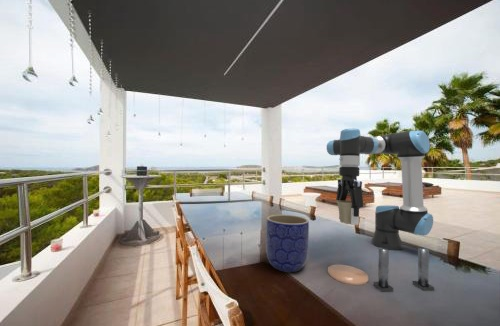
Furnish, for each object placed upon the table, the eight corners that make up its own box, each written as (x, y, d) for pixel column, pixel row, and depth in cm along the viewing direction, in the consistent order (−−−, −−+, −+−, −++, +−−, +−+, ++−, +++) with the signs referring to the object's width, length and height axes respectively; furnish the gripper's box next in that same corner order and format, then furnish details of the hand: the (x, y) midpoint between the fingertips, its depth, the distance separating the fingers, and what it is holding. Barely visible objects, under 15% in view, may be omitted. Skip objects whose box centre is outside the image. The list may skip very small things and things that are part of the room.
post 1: (384, 284, 81) (384, 247, 82) (393, 291, 77) (393, 251, 77) (373, 285, 81) (374, 247, 81) (381, 291, 77) (382, 251, 77)
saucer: (353, 266, 96) (353, 264, 96) (377, 284, 81) (377, 281, 81) (321, 267, 95) (321, 264, 95) (339, 285, 80) (339, 282, 80)
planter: (281, 280, 82) (282, 225, 83) (257, 261, 99) (258, 215, 99) (317, 271, 91) (318, 221, 91) (289, 255, 107) (290, 213, 108)
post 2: (423, 283, 83) (423, 246, 83) (434, 290, 79) (434, 251, 79) (412, 284, 83) (413, 246, 83) (423, 290, 78) (423, 251, 79)
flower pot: (331, 219, 93) (332, 199, 93) (352, 220, 94) (353, 200, 94) (342, 225, 84) (343, 203, 84) (366, 225, 84) (366, 203, 85)
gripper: (328, 166, 99) (327, 216, 99) (355, 165, 78) (354, 228, 78) (344, 167, 100) (343, 216, 100) (375, 166, 79) (374, 229, 79)
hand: (348, 221), depth 89 cm, fingers closed on flower pot, 8 cm apart
